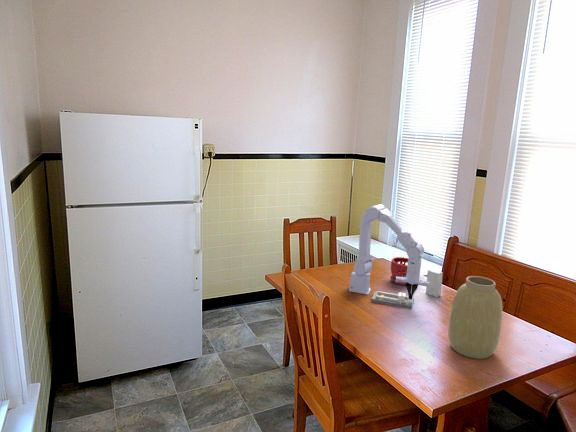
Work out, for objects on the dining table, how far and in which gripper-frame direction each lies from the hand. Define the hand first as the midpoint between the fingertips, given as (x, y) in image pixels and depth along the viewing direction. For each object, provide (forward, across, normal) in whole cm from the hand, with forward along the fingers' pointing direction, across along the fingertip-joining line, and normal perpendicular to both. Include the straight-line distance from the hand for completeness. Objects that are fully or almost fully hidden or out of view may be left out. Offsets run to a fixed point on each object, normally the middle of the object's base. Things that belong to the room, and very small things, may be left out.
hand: (410, 298), depth 189 cm
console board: (+3, -8, 0) cm, 8 cm away
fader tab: (+1, -4, 0) cm, 4 cm away
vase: (+3, +25, -31) cm, 40 cm away
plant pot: (+3, -7, +28) cm, 29 cm away
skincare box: (+3, +9, +18) cm, 20 cm away
